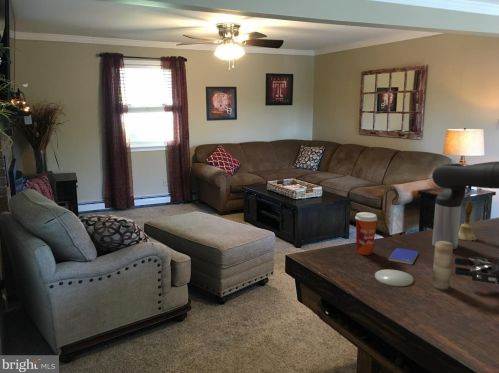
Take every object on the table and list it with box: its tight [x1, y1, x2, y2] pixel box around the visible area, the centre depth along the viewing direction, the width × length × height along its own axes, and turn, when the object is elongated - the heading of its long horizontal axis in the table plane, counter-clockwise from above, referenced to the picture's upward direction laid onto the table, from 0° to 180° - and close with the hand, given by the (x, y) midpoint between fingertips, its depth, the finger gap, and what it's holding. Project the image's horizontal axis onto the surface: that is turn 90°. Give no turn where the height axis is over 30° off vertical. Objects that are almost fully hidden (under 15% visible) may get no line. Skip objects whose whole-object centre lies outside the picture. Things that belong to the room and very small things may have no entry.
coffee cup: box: [354, 211, 378, 256], centre depth 160 cm, size 8×8×15 cm
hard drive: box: [388, 247, 419, 265], centre depth 157 cm, size 2×8×12 cm
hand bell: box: [458, 200, 477, 242], centre depth 177 cm, size 8×8×16 cm
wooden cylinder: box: [431, 241, 454, 291], centre depth 131 cm, size 5×5×14 cm
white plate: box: [374, 269, 414, 287], centre depth 138 cm, size 12×12×1 cm
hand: (455, 265), depth 129 cm, fingers open, 8 cm apart
